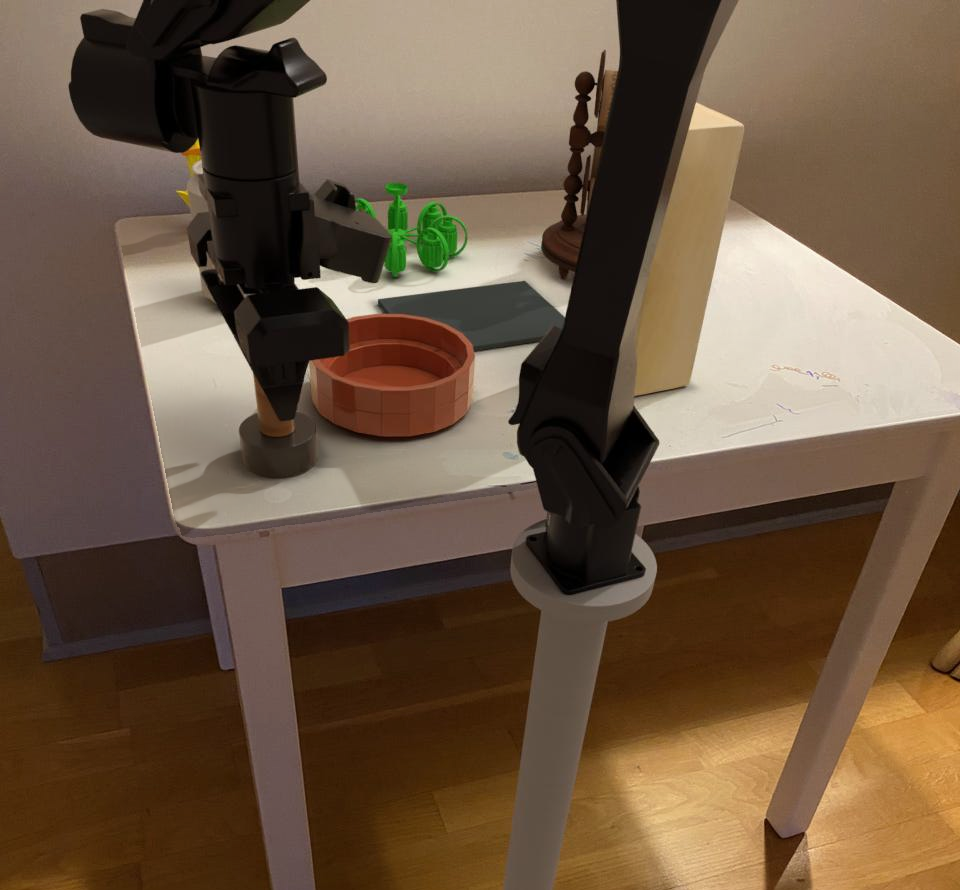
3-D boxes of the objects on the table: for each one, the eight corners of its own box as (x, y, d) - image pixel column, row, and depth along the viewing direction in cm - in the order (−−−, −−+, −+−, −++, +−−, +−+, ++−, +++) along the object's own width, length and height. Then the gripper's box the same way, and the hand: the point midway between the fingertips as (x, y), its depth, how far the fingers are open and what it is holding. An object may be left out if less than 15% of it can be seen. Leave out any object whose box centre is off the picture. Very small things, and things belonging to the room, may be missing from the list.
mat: (579, 335, 89) (580, 330, 89) (422, 359, 84) (422, 354, 83) (524, 285, 97) (525, 280, 96) (377, 303, 91) (377, 298, 91)
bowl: (496, 426, 76) (501, 375, 73) (340, 454, 72) (337, 401, 69) (436, 353, 85) (437, 305, 82) (293, 375, 80) (289, 324, 77)
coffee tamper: (327, 470, 70) (319, 351, 64) (252, 483, 68) (237, 363, 62) (306, 432, 74) (296, 316, 67) (234, 444, 72) (218, 326, 65)
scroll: (671, 247, 107) (711, 43, 93) (679, 300, 96) (725, 79, 82) (543, 234, 107) (563, 30, 94) (536, 287, 97) (558, 64, 83)
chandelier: (331, 225, 105) (328, 159, 101) (464, 231, 106) (467, 166, 102) (320, 280, 95) (316, 209, 90) (468, 286, 96) (471, 216, 91)
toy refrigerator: (573, 359, 85) (608, 101, 71) (641, 347, 88) (688, 96, 74) (619, 400, 80) (666, 131, 66) (689, 386, 83) (750, 125, 68)
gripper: (430, 207, 53) (426, 444, 64) (332, 115, 66) (342, 327, 76) (235, 225, 50) (265, 474, 60) (169, 124, 62) (204, 346, 73)
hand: (274, 397), depth 68 cm, fingers open, 6 cm apart
